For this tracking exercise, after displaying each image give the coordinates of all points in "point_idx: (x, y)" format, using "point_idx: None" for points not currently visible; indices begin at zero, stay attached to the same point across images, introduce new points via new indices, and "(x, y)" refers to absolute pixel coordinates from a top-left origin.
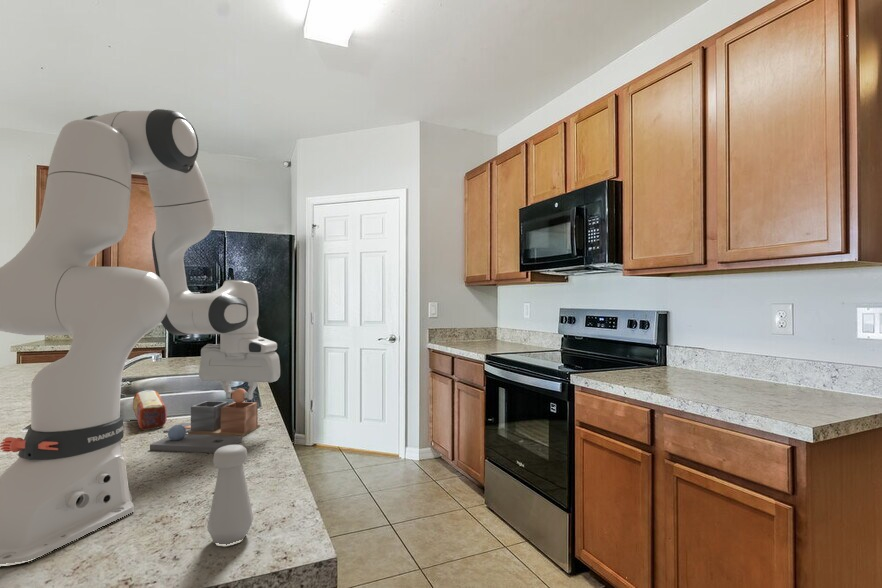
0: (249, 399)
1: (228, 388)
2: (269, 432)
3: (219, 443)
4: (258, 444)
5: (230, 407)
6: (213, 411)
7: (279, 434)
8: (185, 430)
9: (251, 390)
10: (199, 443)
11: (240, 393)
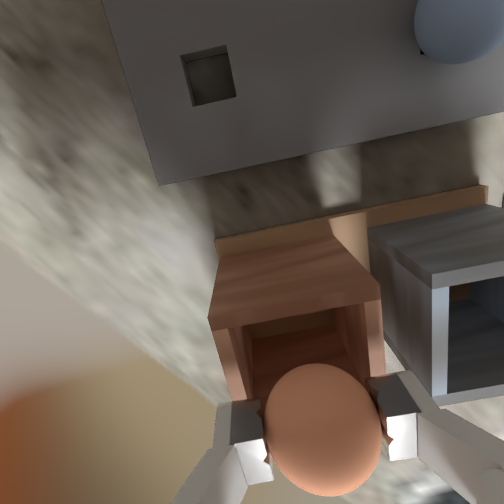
0: (221, 403)
1: (449, 461)
2: (153, 314)
3: (167, 43)
4: (61, 172)
5: (317, 306)
6: (420, 263)
7: (94, 307)
8: (431, 35)
9: (194, 475)
10: (270, 3)
11: (288, 423)
